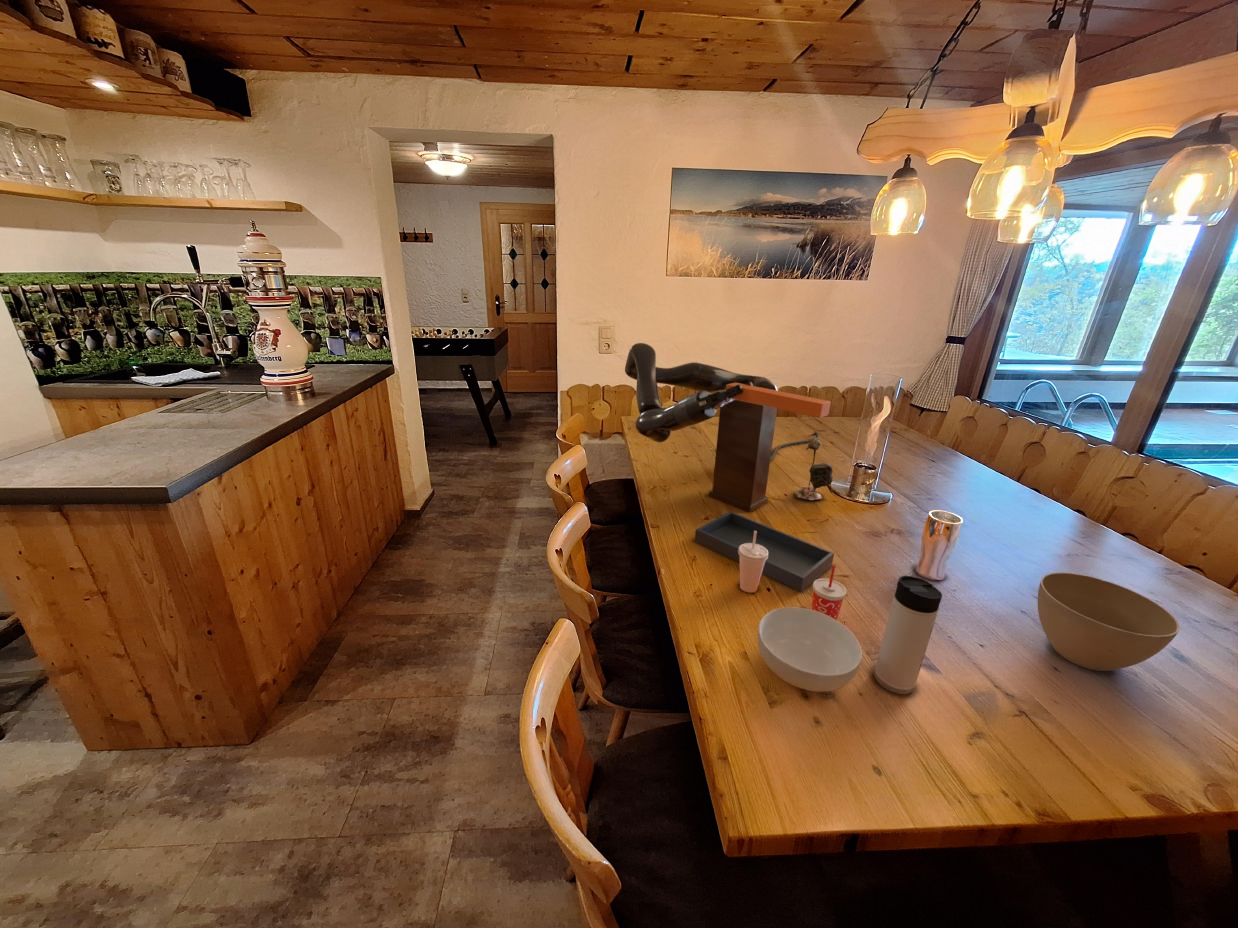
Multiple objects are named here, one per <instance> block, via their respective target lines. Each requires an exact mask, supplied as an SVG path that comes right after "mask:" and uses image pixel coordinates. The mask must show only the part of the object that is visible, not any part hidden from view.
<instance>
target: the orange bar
mask: <svg viewBox="0 0 1238 928" xmlns="http://www.w3.org/2000/svg"><path fill="white" fill-rule="evenodd" d="M739 384H740V385H741V386H742V390H743V393H742V394H739V395H737V396H734V397H732V398H733V399H737V400H742V401H746V402H751V403H755V404H760V405H764V406H769V407H773V408H777V410H783V411H787V412H792V413H796V414H800V415H805V416H809V417H814V418H819V419H821V418H824V417H827V416H829V414H830V408H831V404H832V401H831V400H826V399H820V398H817V397H813V396H812V397H811V396H806V395H801V394H796V393H791V392H786V391H780V390H778V391H776V390H771V389H766V388H761V387H756V386H751V385H746V384H741V383H731V384H727V385H726V389H729V388H731V387H734V386H736V385H739Z"/></svg>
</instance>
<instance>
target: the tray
mask: <svg viewBox="0 0 1238 928" xmlns="http://www.w3.org/2000/svg"><path fill="white" fill-rule="evenodd" d="M754 531H757V534H756V541H755V544H759V545H761V546H763V547H765V548H766V549H767V550H768V558H767V559H766V561H765V564H764V567H763V571H762V574H761V575H764V576H767V577H768V578H770V579H772V580H775V581H777V582H779V583H781V584H783V585H785V586H788V587H790V588H791V589H793V590H795V591H798V592H800V593H802V592H803V591H804V590H805V589H806V588H807V587H809V586H810V585H811V584H813V582H814V581H815V580H817V579H819V578H820V577H821V575H823V574H824V573H825V572H826V571H827V570H828V569H829V568H832V567H833V563H834V556H835V552H833V551H831V550H828V549H826V548H823V547H821V546H818V545H816V544H813V543H811V542H808V541H806V540H803V539H801V538H798V537H795V536H793V535H791V534H788V533H786V532H783V531H781V530H779V529H776V528H773V527H771V526H768V525H766V524H763V523H761V522H758V521H756V520H754V519H751V518H748V517H746V516H744V515H741V514H739V513H736V512H733V511H731V510H730V511H728V512H726V513H724V514H722V515H721V516H719V517H717V518H715V519H713V520H711V521H709V522H707V523H705V524H703V525H702V526H699V527H697V528H695V534H694V542H695V543H697V544H700V545H702V546H703V547H705V548H708V549H710V550H712V551H714V552H716V553H718V554H720V555H723V556H725V557H727V558H729V559H731V560H733V561H735V562H737V563H739V564H740V560H739V554H738V550H739V546H740V545H742V544H745V543H753V536H754Z"/></svg>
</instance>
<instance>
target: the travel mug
mask: <svg viewBox="0 0 1238 928" xmlns="http://www.w3.org/2000/svg"><path fill="white" fill-rule="evenodd" d="M942 598H943V594H942V592H941V591H940V590H939V589H938V588H936V587H935V586H933V584H932V583H931V582H929V581H927V580H925V579H922V578H920V577H917V576H912V575H902V576H900V577H899V578H898V581H897V584H896V588H895V592H894V595H893V599H892V601H891V602H892V603H891V607H890V610H889V614H888V617H887V622H886V624H885V629H884V632H883V637H882V641H881V645H880V647H879V652H878V655H877V660H876V664H875V667H874V670H873V677H874V678H875V680H876V682H877V683H878V684H879V685H880V686H881V687H882V688H883V689H885V690H887V691H889V692H891V693H894V694H898V695H909V694H912V693H913V692H914V691H915V688H916V685H917V682H918V678H919V675H920V671H921V668H922V666H923V663H924V658H925V655H926V652H927V649H928V645H929V642H930V639H931V636H932V632H933V630H934V626H935V622H936V619H937V616H938V612H939V610H940V604H941V602H942Z"/></svg>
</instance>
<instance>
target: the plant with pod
mask: <svg viewBox="0 0 1238 928" xmlns="http://www.w3.org/2000/svg"><path fill="white" fill-rule="evenodd" d="M811 439H812V440H811ZM811 439H810V440H811V441H810V442H808V443H807V447H806V448H805V450H806V451H808V450H809V449H810V450H813V458H812V465H811V466H810V468H809V482H808V486H806V485H803V486H802V487H801V489H800V488H799V489H795V490H794V497H796V498H799V499H802V500H809V501H816V500H823V497H822V494H821V493H820V491H817V489H820V488H824V487H827V489H828V490H829V492H830V493H831V494H833V493H834V492H833V490H832V488H831V486H830V485H831V484H832V482H833V479H834V478H833V472H834V471H833V470H834V469H833V465H831V464H830V463H828V462H821V463H820V462H819V463H815V460H816V453H817V451H818V450H819V449H820V446H821V445H822V442H821V440H819V439H816V437H812V438H811ZM811 484H812V487H811V486H810V485H811Z"/></svg>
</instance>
